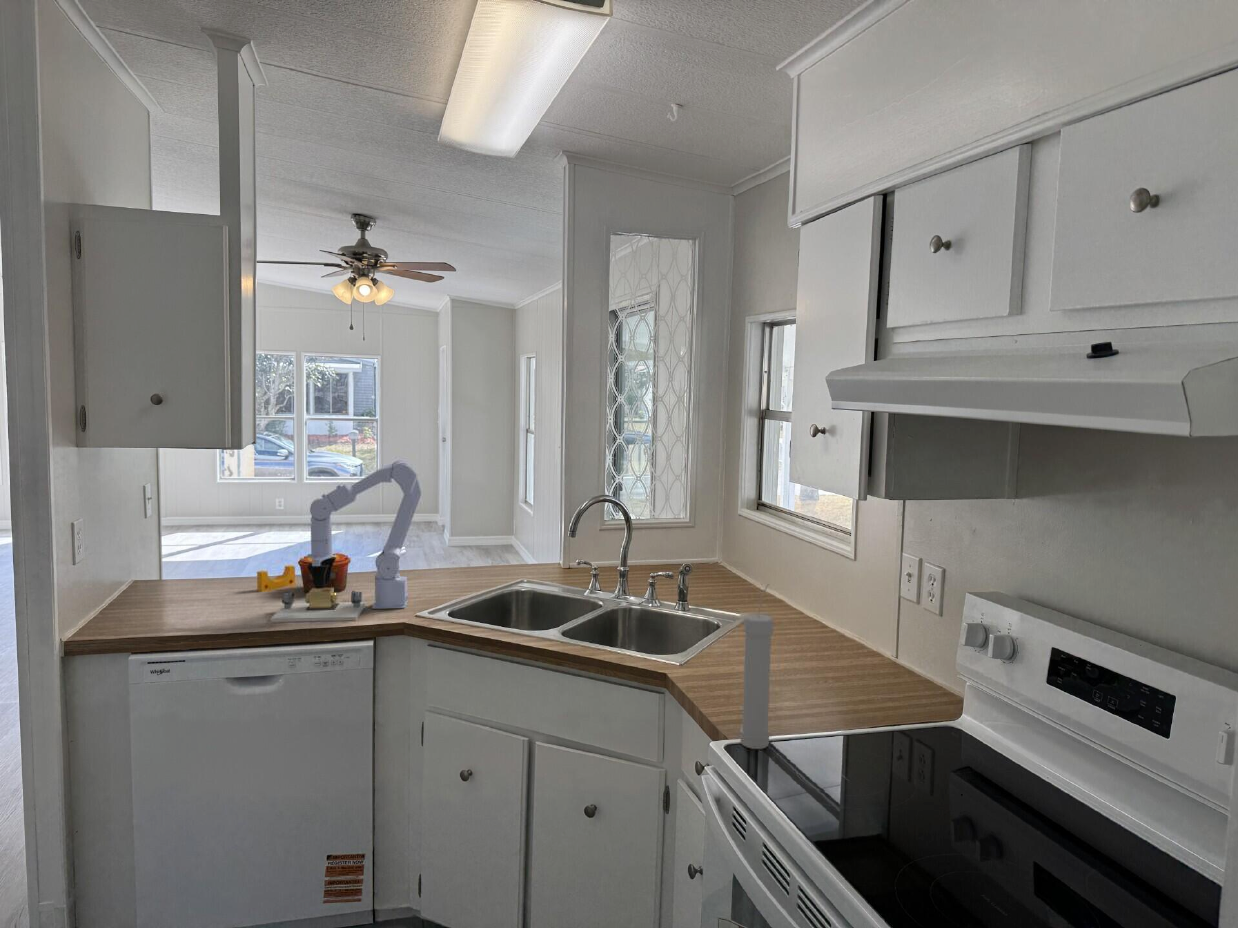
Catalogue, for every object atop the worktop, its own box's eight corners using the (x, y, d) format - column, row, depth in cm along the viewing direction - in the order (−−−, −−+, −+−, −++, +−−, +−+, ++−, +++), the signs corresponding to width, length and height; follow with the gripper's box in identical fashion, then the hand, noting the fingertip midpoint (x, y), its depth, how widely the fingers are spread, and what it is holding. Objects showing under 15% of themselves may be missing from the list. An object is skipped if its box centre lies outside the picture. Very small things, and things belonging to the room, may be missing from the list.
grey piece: (734, 744, 148) (739, 587, 145) (750, 733, 153) (755, 581, 150) (760, 752, 144) (766, 592, 142) (776, 741, 149) (781, 586, 147)
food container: (295, 586, 260) (295, 554, 259) (346, 582, 267) (346, 551, 266) (301, 598, 246) (300, 564, 245) (354, 593, 253) (354, 560, 252)
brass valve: (338, 603, 235) (337, 587, 235) (335, 607, 231) (334, 591, 230) (308, 604, 234) (308, 587, 234) (305, 608, 230) (304, 591, 229)
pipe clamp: (287, 583, 265) (286, 564, 265) (295, 585, 263) (294, 566, 262) (254, 590, 255) (253, 570, 255) (262, 592, 253) (261, 572, 252)
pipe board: (366, 605, 239) (365, 586, 239) (355, 620, 223) (355, 600, 223) (286, 606, 236) (286, 587, 236) (270, 622, 220) (270, 602, 220)
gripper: (313, 535, 237) (314, 579, 239) (300, 544, 223) (301, 591, 224) (337, 534, 238) (338, 579, 240) (326, 544, 224) (327, 590, 225)
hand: (322, 585), depth 232 cm, fingers open, 7 cm apart
